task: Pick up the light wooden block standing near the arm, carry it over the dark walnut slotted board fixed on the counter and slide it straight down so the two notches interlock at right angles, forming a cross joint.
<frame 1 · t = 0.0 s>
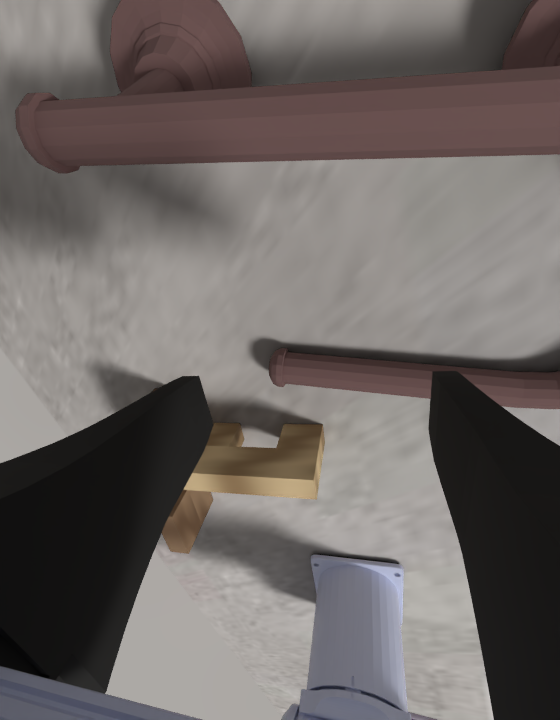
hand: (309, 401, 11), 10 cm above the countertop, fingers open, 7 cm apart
light wooden block: (263, 432, 25), on the countertop
toilet paper hanger: (408, 230, 17), on the countertop
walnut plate: (186, 449, 28), on the countertop
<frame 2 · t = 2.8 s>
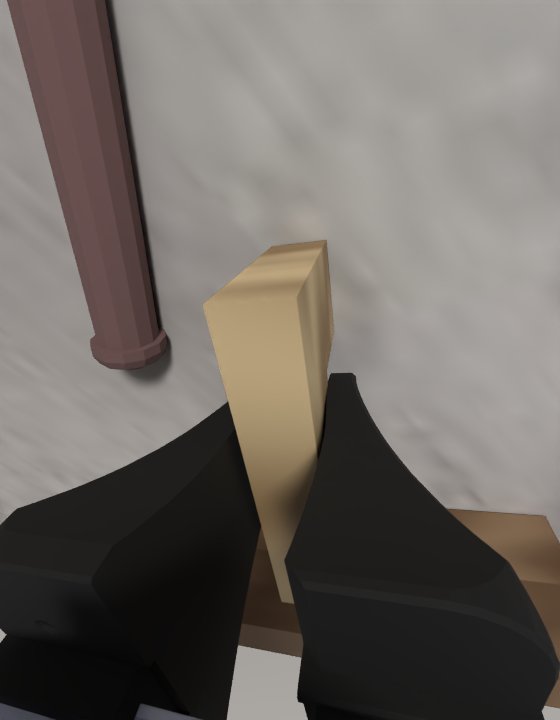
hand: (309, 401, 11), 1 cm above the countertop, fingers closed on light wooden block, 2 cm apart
light wooden block: (314, 377, 12), on the countertop, touching gripper
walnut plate: (377, 516, 14), on the countertop
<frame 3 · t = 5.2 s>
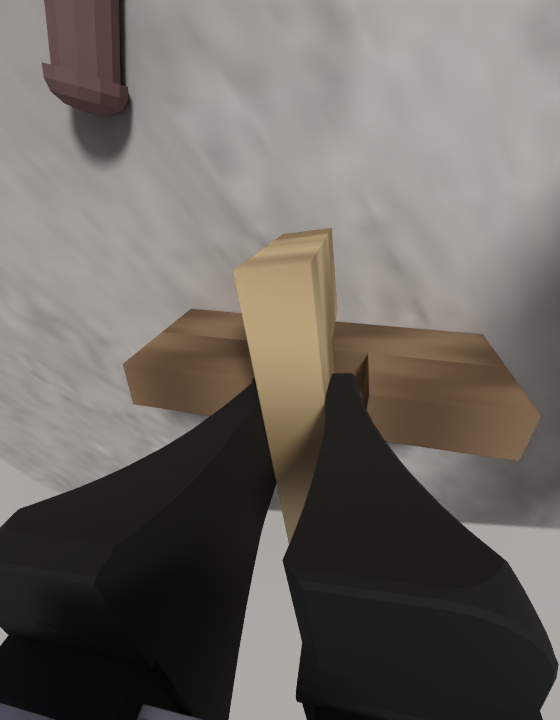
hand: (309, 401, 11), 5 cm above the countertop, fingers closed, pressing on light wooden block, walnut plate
light wooden block: (319, 354, 13), point 2 cm above the countertop, touching gripper
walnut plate: (324, 338, 14), on the countertop
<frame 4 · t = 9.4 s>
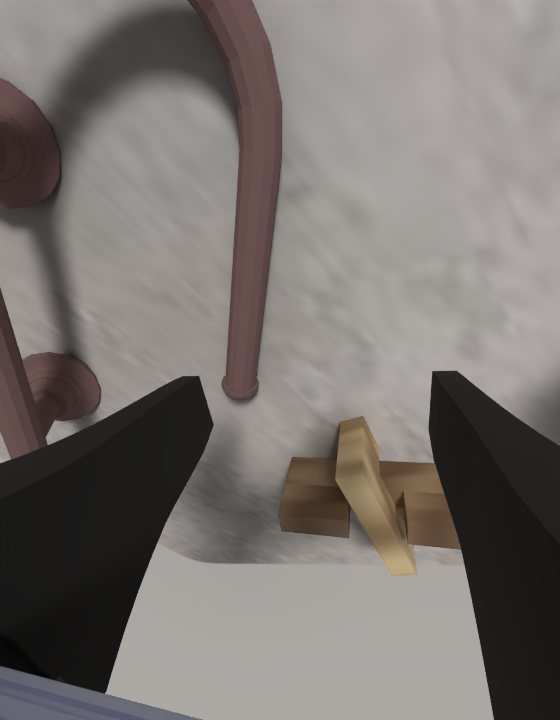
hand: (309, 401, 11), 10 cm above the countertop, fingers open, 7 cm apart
light wooden block: (376, 466, 24), on the countertop, touching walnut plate
toilet paper hanger: (132, 259, 21), on the countertop
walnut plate: (374, 469, 24), on the countertop
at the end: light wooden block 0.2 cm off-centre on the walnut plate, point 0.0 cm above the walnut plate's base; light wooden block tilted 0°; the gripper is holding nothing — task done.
